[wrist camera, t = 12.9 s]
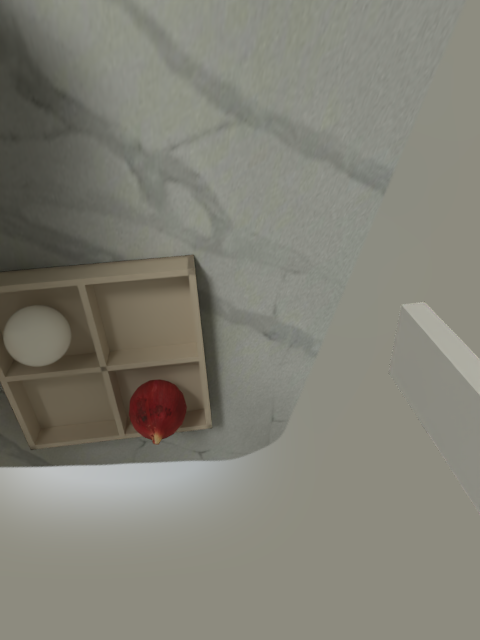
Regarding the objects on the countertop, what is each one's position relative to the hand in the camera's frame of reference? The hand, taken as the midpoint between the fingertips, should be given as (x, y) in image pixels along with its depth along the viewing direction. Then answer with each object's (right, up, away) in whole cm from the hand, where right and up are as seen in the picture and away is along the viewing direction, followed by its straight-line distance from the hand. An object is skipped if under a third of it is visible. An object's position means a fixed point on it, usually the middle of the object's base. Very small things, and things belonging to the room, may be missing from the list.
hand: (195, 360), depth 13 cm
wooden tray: (-12, -2, +31) cm, 34 cm away
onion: (-8, -6, +34) cm, 35 cm away
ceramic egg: (-17, +1, +28) cm, 33 cm away
